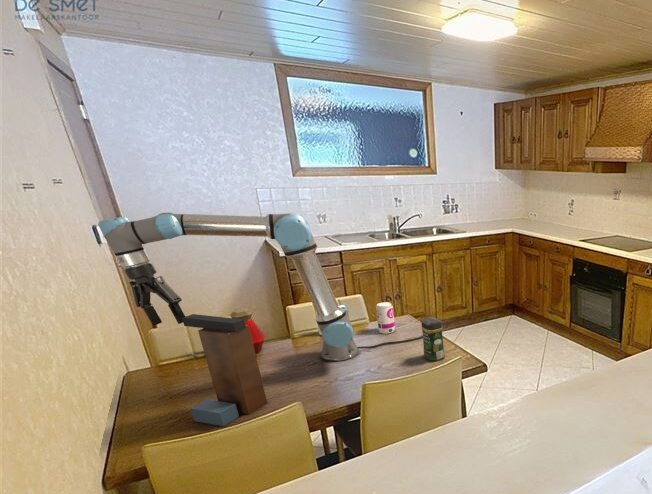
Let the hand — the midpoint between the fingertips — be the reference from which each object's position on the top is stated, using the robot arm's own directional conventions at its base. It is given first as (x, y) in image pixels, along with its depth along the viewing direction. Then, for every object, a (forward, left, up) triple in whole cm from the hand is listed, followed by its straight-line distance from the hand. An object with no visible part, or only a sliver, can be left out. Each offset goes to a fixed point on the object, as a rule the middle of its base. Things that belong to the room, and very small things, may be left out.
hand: (170, 323), depth 150 cm
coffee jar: (-90, -10, -29) cm, 95 cm away
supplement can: (-69, -49, -29) cm, 89 cm away
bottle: (-9, -39, -29) cm, 49 cm away
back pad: (-18, +13, +2) cm, 22 cm away
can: (-39, -54, -29) cm, 73 cm away
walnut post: (-21, +15, -28) cm, 38 cm away
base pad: (-15, +22, -28) cm, 39 cm away
